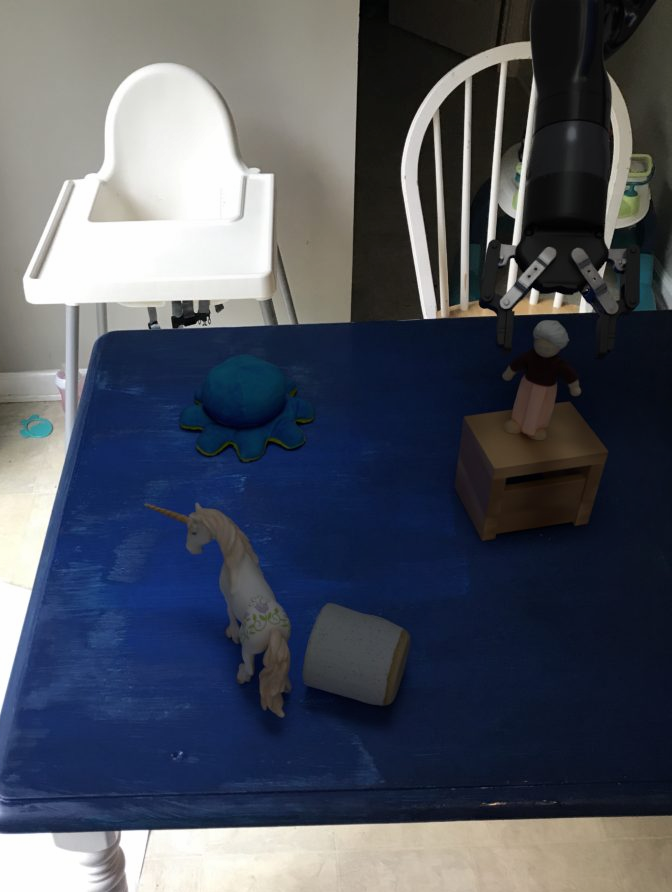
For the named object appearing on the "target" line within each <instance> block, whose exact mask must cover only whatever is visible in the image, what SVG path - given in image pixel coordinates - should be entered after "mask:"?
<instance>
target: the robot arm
mask: <svg viewBox="0 0 672 892" xmlns="http://www.w3.org/2000/svg"><path fill="white" fill-rule="evenodd" d="M657 1H658V0H532V3H531V7H530V14H529V41H530V54H531V65H532V74H533V81H534V88H535V100H534V107H533V117H532V118H533V119H532V128H531V140H530V148H529V153H528V156H527V161H526V170H525V183H524V193H523V195H524V196H523V207H522V217H521V218H522V220H521V232H520V240H519V242H518V243H517V245H515V244H514V245H513V244H503V243H501V241H500V240H499V239H497V238H495V239H491V240H490V241H489V242H488V244H487V246H486V251H485V256H484V264H483V270H482V277H481V283H480V290H479V296H478V306H479V308H480V309H482V310H490V311H491V312H493V313H494V314H495V315H496V331H495V341H494V342H495V343H494V344H495V346H496V349H501V355H507V356H508V355H509V356H510V354H511V352H512V347H513V339H514V338H513V337H514V327H515V325H514V324H515V313H516V311H515V310H514V308H515V307H516V306H517V305H518V304H519V303H520V302H521V301H522V300H523V299H524V298H525V297H526V296H527V295H528V294H529V292H530V291H532V289H533V290H535V291H536V292H538V294H540V295H550V294H554V293H557V294H561V295H563V296H573V295H574V294H576V293H578V292H579V294H580V295H581V297H582V298H583V299H584V301H585V302H586V304H588V305H590V306H591V308H592V309H593V311H594V312H595V313H596V315H597V316H598V319H597V321H596V327H595V339H594V352H593V359H594V360H604V358H605V357H607V354H610V353H611V351H613V350H614V346H615V344H616V334H617V333H616V331H617V321H618V320H617V319H618V318H619V317H623V316H629V315H631V314H632V313H633V312H634V311H635V309H636V308H637V307H638V306H639V305H640V303H641V301H640V300H641V247H640V245H638V244H636V243H631V244H629V245H628V246H627V247H626V248H608V245H607V243H606V240H605V235H606V234H605V233H606V221H607V219H606V218H607V206H608V195H609V183H610V181H611V169H610V168H611V167H610V166H611V148H610V129H611V119H612V117H611V116H612V107H613V106H612V105H613V93H612V92H613V91H612V83H611V80H610V77H609V74H608V72H607V67H606V64H605V63H607V62H608V61H610V59H612V58H613V57H614V56H615V55H617V54H618V53H619V52H620V51H621V49H623V48H624V47H625V45H626V44H627V43H628V42H629V41H630V40H631V38H632V37H633V36H634V35H635V33H636V31H637V30H638V29H639V27H640V26H641V24H642V23H643V21H644V20H645V18H646V17H647V16H648V14H649V13H650V11H651V10H652V9H653V7H654V5H655V4H656V3H657ZM512 259H513V260H514V262H515V264H516V265H517V267H518V268H519V270H520V271H521V273H522V274H521V275H520V276H519V278H518V279H516V281H515V282H514V284H513V285H512V286H511V287H510V289H509V290H508V291H507V292H506V293H505V294H504V295H500V294H498V293H496V292H495V291H496V284H497V278H498V271H499V270H501V269H503V268H505V267H506V266H507V263H508V261H509V260H512ZM606 263H609V264H610V265H611V266H612V270H613V272H614V273H616V274H618V275H619V294H618V295H619V296H618V297H619V299H618V300H616V299H615V298H614V297H613V295H612V294H611V292H610V291H609V289H608V285H607V283H606V282H605V280H604V278H603V277H602V276H601V274H600V273H599V271H600V270H601V269H602V268H603V266H604V265H605V264H606Z"/></svg>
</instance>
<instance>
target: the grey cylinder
mask: <svg viewBox="0 0 672 892" xmlns="http://www.w3.org/2000/svg"><path fill="white" fill-rule="evenodd" d="M410 647H411V635H410V633H409V632H408V631H407V629H405V628H403V627H402V626H400V625H398V624H395V623H393V622H392V621H390V620H388V619H385V618H383V617H380V616H377V615H373V614H368V613H363V612H359V611H357V610H354V609H351V608H348V607H346V606H342V605H339V604H336V603H332V602H327V603H325V605H323V607H322V608H321V610H320V611H319V613H318V615H317V617H316V619H315V622H314V624H313V627H312V629H311V632H310V635H309V638H308V642H307V646H306V651H305V654H304V658H303V666H302V683H303V684H304V685H305V686H307V687H310V688H313V689H317V690H320V691H324V692H328V693H331V694H334V695H338V696H341V697H345V698H348V699H349V698H350V699H353V700H355V701H359V702H362V703H365V704H368V705H373V706H389V705H391V704H392V703H393V702H394V701H395V699H396V696H397V694H398V692H399V688H400V685H401V682H402V678H403V677H404V676H403V675H404V672H405V668H406V665H407V660H408V657H409V651H410Z"/></svg>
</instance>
